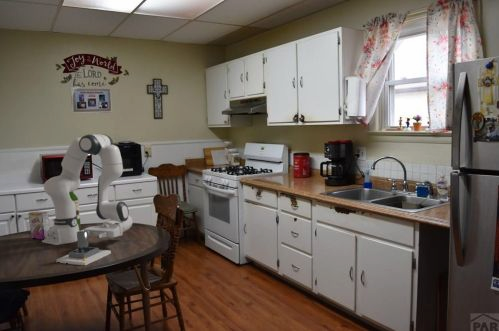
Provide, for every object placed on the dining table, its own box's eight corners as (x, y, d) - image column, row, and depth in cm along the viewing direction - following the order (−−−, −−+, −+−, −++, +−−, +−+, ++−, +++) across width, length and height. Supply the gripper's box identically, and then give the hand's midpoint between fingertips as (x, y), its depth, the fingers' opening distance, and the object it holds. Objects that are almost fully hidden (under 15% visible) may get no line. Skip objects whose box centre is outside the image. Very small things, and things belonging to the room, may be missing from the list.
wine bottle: (75, 231, 257) (70, 181, 253) (63, 230, 258) (58, 181, 255) (83, 227, 265) (79, 179, 262) (71, 227, 267) (67, 179, 264)
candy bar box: (30, 239, 242) (27, 212, 241) (37, 236, 247) (34, 210, 245) (44, 240, 239) (41, 213, 237) (51, 237, 243) (48, 211, 242)
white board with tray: (56, 262, 196) (55, 254, 196) (83, 250, 213) (83, 243, 212) (85, 265, 190) (84, 257, 189) (110, 253, 206) (110, 245, 206)
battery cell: (76, 256, 200) (74, 231, 198) (83, 252, 204) (81, 228, 203) (84, 256, 198) (82, 231, 197) (91, 253, 203) (89, 229, 201)
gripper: (94, 222, 222) (75, 228, 209) (123, 224, 215) (106, 231, 202) (95, 233, 223) (76, 240, 210) (124, 235, 215) (107, 243, 202)
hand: (91, 235), depth 206 cm, fingers open, 8 cm apart
